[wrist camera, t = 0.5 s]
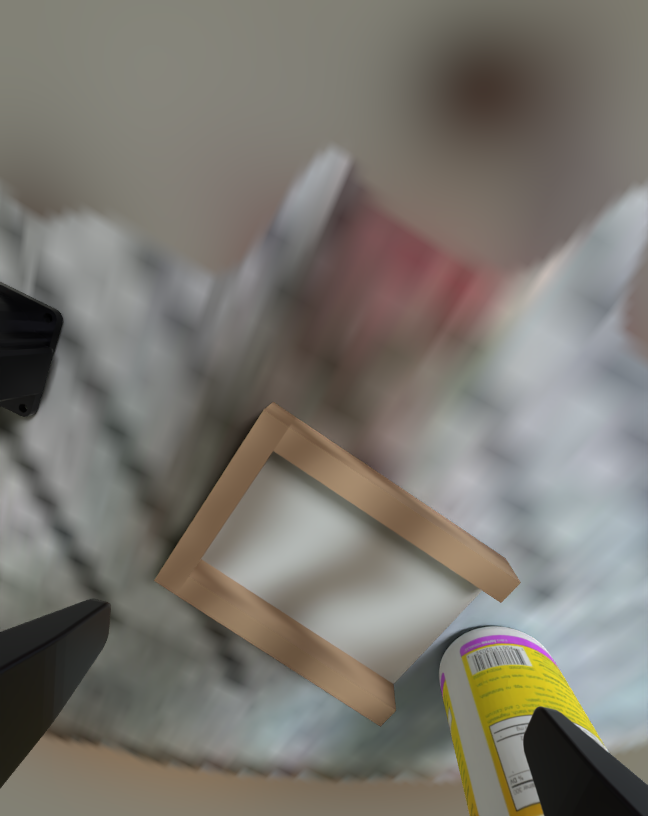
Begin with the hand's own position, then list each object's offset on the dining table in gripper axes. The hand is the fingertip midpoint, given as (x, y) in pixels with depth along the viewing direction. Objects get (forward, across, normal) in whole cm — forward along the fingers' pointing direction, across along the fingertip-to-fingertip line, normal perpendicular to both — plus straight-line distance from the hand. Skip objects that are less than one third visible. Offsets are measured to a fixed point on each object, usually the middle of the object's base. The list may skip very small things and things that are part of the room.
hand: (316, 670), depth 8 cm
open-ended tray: (+13, +2, -7) cm, 14 cm away
